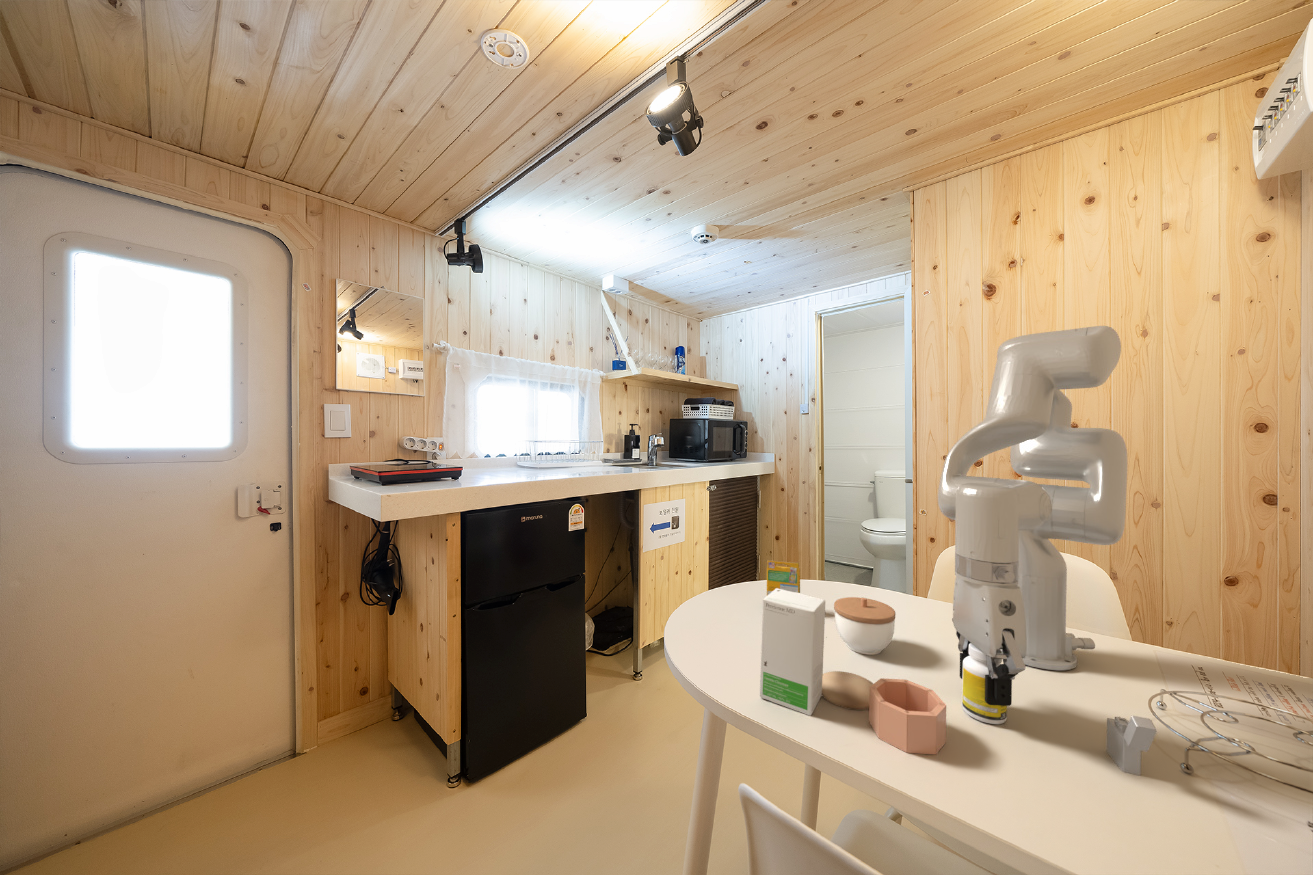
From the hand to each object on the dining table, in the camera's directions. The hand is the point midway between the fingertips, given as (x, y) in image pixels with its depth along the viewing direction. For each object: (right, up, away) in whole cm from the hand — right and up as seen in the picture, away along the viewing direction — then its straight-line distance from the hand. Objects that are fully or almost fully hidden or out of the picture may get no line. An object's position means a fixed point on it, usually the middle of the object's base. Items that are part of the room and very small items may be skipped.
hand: (984, 690), depth 67 cm
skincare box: (-27, -4, +4) cm, 27 cm away
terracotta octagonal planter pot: (-14, -4, -4) cm, 14 cm away
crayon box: (-19, -3, +39) cm, 43 cm away
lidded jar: (-8, -3, +21) cm, 23 cm away
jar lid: (-18, -3, +6) cm, 19 cm away
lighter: (+10, -4, -11) cm, 15 cm away
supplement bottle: (0, -4, 0) cm, 4 cm away
